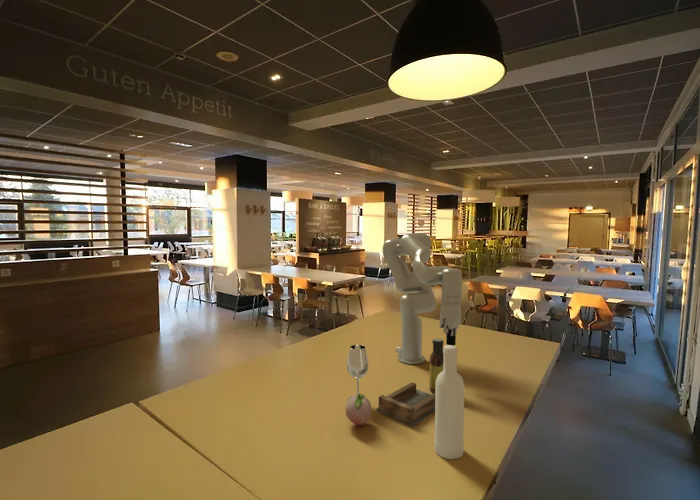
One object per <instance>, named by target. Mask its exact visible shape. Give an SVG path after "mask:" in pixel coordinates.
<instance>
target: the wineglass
mask: <svg viewBox="0 0 700 500" xmlns="http://www.w3.org/2000/svg"><path fill="white" fill-rule="evenodd" d="M346 361H347V362H346V369H347V373H348V374H349V375H350V376H351V377H352V378H354V379H356V395H351V396H350V397H348V398H347V402H348V401H349V399H351V398H352V397H355V396H357V395H358V394H360V391H359V389H360V388H359V387H360V379H361V378H364V377H365V376H366V375H367V373H368V372H369V368H370V367H369V358H368V352H367V349H366V346H365V345H363V344H351V346H349V351H348V355H347V360H346Z"/></svg>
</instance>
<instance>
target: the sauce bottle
mask: <svg viewBox="0 0 700 500" xmlns="http://www.w3.org/2000/svg"><path fill="white" fill-rule="evenodd" d="M443 350H444V339H442V338H432V352H431V354H430V355H429V384H428V385H429V391H430V392H431V393H432V394H433V393H435V392H436V379H437V377H438V374H440V373H441V372H442V371H443V360H444V354H443Z"/></svg>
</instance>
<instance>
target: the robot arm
mask: <svg viewBox="0 0 700 500" xmlns="http://www.w3.org/2000/svg"><path fill="white" fill-rule="evenodd" d="M431 247H432V240H431V238H430V236H429V235H428V234H426V233H424V232H423V233H422V232H421V233H420V232H419V233H417V232H415V233H413V232H412V233H406V234H404V235H403V236H402V237H401V238H390V239H387V240H386V241H384V243H383V245H382V256H383V259H384V261H385V263H386V264H387V267H388V269H389V270H390V272H391V275H392V279H393V282H394V284H395V287H396V289H397V291H398V292H399V293H400V294H401V293H402V294H404V295H402V296H400V298H399V303H398V304H399V310H400V317H401V318H400V320H401V322H400V323H401V347H400V346H396V348H395V350H394V351H395V353H398V356H397V360H398V361H399V362H401V363H403V364H407V365H408V364H409V365H418V364H419V365H420V364H423V363H424V362H425V361H426V357H425V356H424V355H423V354H422V353H423V351H422V350H423V348H422V347H423V346H422V345H423V323H422V319H421V318H420V317H419V314H424V313H430V312H432V311H434V310H435V309H436V306H437V302H436V297H435V294H434V292H433V290H432V286H438V285H441V304H440V311H439V312H440V313H439V328H441V329H443V331H442V332H443V333H445V336H446V338H445V339H446V345H452V346H456V344H457V343H456V340H457V338H456V337H457V330H458V328H459V327H460V326H461V325H462V280H463V278H462V275H463V274H462V271H461V269H459V268H452V267H449V266H446V265H438V266H427V265H426V264H427V262H428V261H430V259H431V255H432V252H431V250H430V248H431ZM400 256H409V257H410V258H411V259H412V261H413V262H412V270H413V272H411V271H410V270H409V267H408V265H407V263H406V262H405V261H404V260H403V259H402V258H401V257H400Z"/></svg>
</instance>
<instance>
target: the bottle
mask: <svg viewBox="0 0 700 500" xmlns="http://www.w3.org/2000/svg"><path fill="white" fill-rule="evenodd" d="M458 353H459V352H458V348H457V346H456V345H454V346H452V345H447V344H446V345H443V354H444V360H443V371H442V372H441V373H440V374H438V377H437V379H436V392H435V412H434V413H435V415H434V451H435V453H436V454H437V455H438V456H439V457H442V458H443V459H447V460H457V459H459V458H461V457H462V456H463V455H464V447H465V446H464V430H465V427H464V423H465V422H464V421H465V416H464V415H465V382H464V379H463V377H462V375H461V374H460V373H458V371H457V367H458V366H457V365H458V364H457V363H458Z"/></svg>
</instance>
